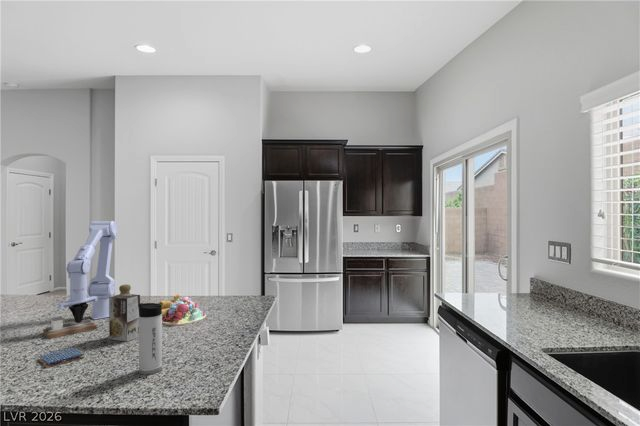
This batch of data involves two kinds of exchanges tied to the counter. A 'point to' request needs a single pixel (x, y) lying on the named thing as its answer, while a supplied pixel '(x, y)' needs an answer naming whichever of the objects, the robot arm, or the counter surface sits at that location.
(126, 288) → the cork
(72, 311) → the robot arm
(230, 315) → the counter surface
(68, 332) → the fader board
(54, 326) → the fader knob
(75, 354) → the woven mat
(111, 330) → the coffee box
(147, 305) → the travel mug
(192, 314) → the candy landscape model
